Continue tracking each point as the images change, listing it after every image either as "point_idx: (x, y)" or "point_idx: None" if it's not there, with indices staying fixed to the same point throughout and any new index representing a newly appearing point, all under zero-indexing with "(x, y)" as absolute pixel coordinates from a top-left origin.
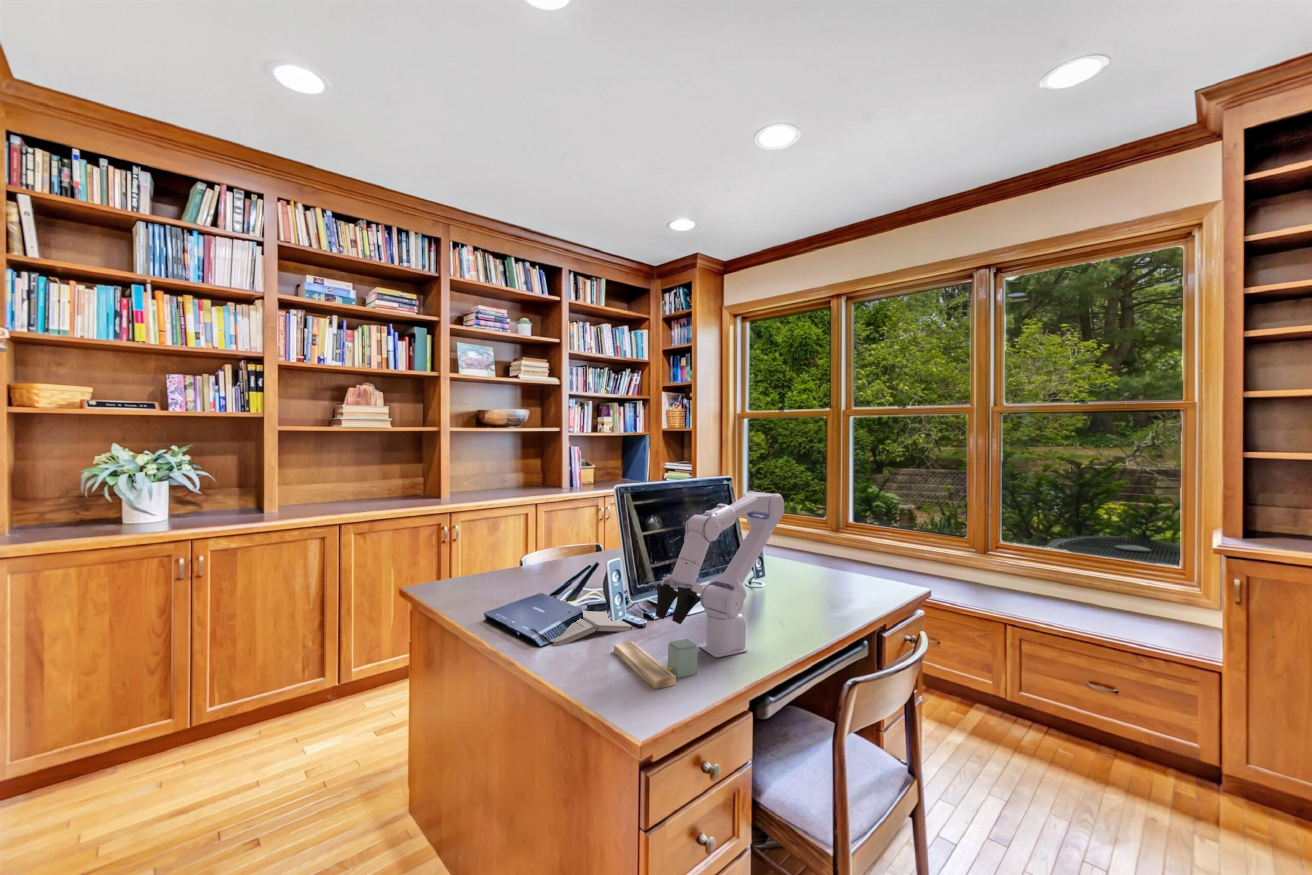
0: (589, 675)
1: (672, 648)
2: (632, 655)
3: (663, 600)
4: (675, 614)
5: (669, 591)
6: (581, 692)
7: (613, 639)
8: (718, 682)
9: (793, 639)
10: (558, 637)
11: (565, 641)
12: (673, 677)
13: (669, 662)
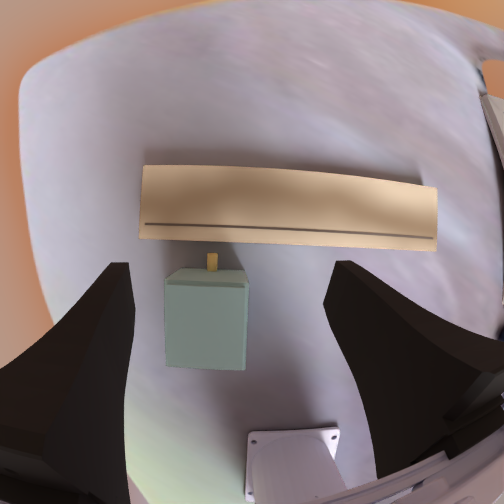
0: (312, 62)
1: (211, 280)
2: (346, 193)
3: (388, 345)
4: (94, 282)
5: (414, 426)
6: (232, 18)
7: (481, 233)
8: None
9: None
10: (501, 109)
11: (490, 117)
12: (139, 229)
13: (234, 273)
